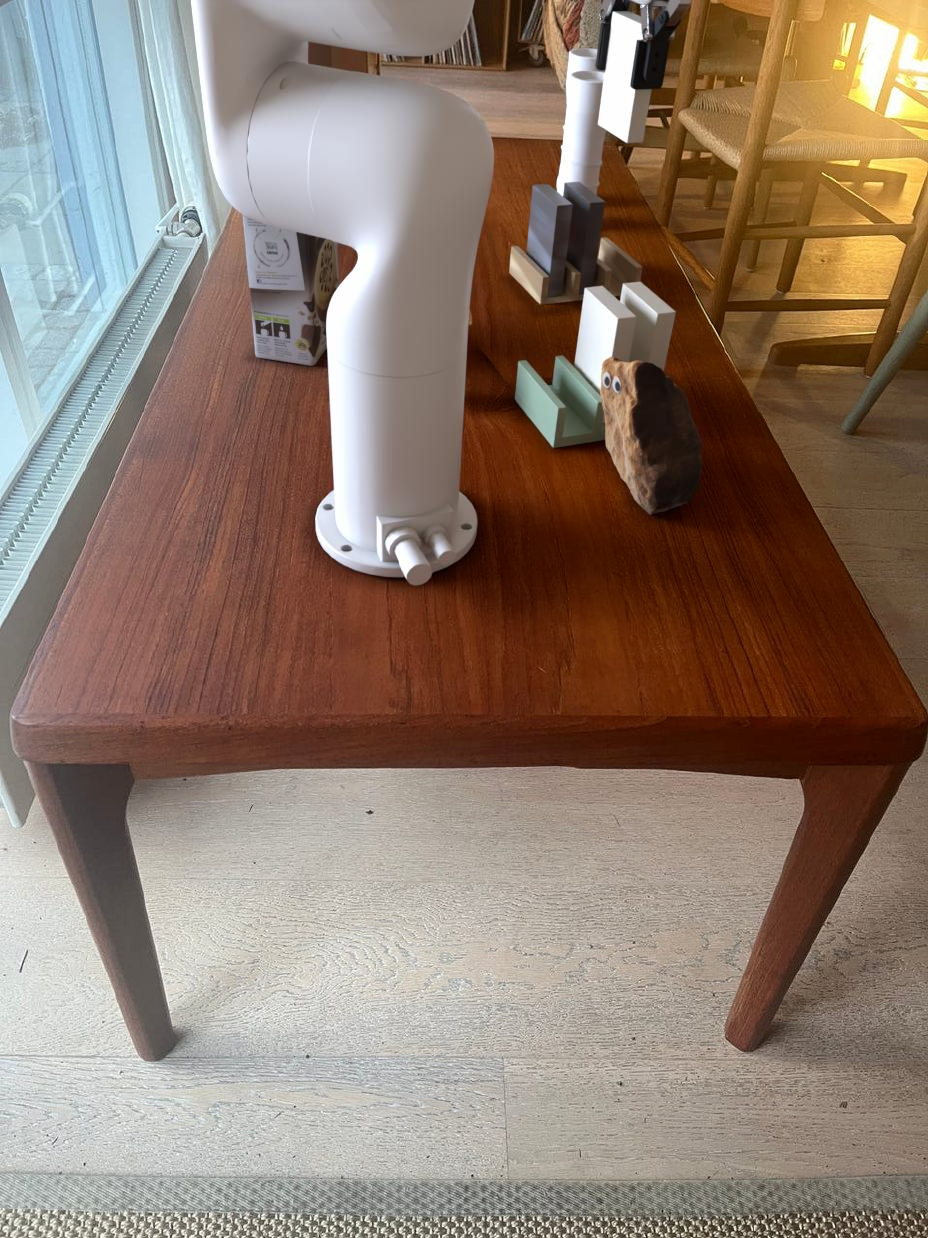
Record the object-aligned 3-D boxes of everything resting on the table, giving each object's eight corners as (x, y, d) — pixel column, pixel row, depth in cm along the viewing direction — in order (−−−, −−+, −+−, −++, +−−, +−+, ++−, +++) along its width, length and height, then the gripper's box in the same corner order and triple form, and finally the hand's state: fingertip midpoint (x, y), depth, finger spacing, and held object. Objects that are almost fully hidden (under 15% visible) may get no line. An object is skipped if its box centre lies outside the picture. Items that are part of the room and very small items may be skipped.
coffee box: (316, 367, 96) (306, 197, 85) (253, 358, 96) (236, 189, 86) (343, 327, 102) (337, 165, 92) (284, 319, 103) (271, 158, 92)
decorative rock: (582, 446, 87) (599, 333, 80) (643, 439, 89) (665, 327, 82) (639, 524, 79) (664, 406, 72) (705, 514, 80) (736, 397, 73)
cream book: (613, 123, 100) (629, 10, 93) (643, 142, 96) (662, 25, 89) (597, 124, 100) (612, 10, 93) (626, 143, 95) (644, 25, 88)
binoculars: (595, 240, 124) (617, 83, 112) (553, 237, 124) (570, 80, 112) (591, 194, 137) (611, 49, 125) (553, 191, 137) (568, 46, 125)
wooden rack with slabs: (601, 270, 117) (615, 174, 110) (637, 301, 111) (654, 201, 104) (508, 280, 114) (516, 181, 106) (539, 312, 108) (549, 210, 100)
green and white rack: (628, 383, 96) (647, 274, 89) (673, 428, 90) (697, 316, 83) (514, 399, 93) (525, 287, 86) (553, 448, 87) (568, 332, 79)
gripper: (757, -147, 78) (707, 101, 89) (651, -164, 90) (620, 56, 101) (674, -151, 75) (635, 104, 87) (578, -168, 87) (555, 58, 99)
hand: (627, 76), depth 94 cm, fingers closed on cream book, 6 cm apart
